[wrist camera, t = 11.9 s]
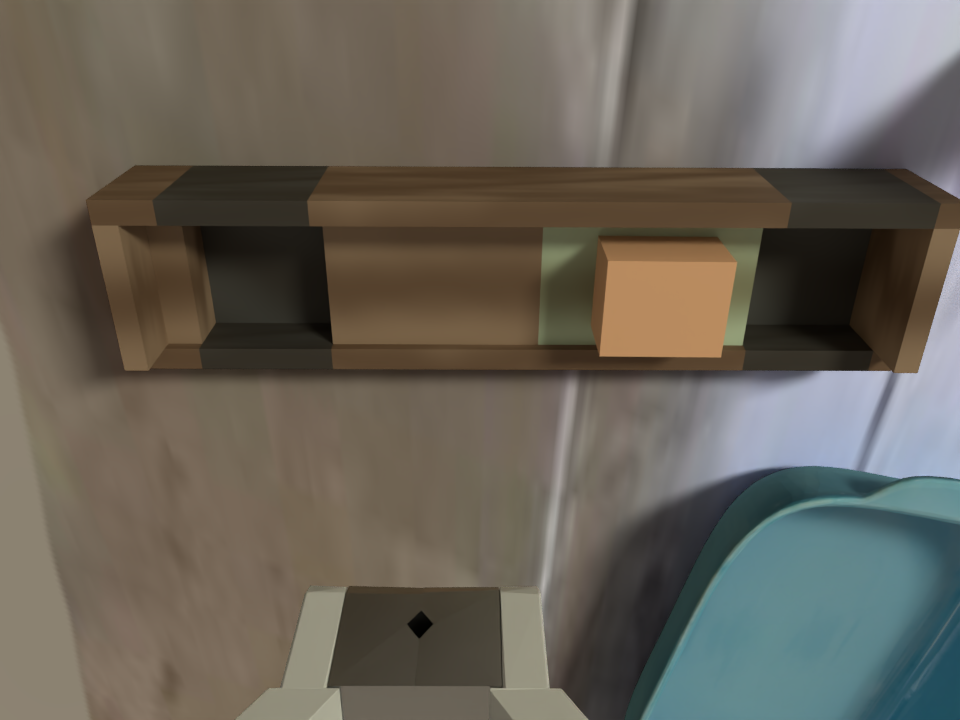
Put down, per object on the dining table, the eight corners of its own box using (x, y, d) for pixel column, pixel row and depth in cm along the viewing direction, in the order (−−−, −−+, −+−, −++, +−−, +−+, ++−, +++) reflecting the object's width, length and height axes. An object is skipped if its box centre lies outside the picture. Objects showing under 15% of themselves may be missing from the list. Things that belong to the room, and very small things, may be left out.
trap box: (134, 165, 42) (85, 199, 37) (906, 168, 42) (967, 203, 37) (168, 338, 47) (129, 390, 42) (862, 340, 47) (911, 393, 42)
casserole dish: (826, 806, 68) (861, 896, 62) (567, 769, 66) (577, 859, 59) (1070, 448, 51) (1153, 522, 45) (734, 380, 49) (772, 448, 42)
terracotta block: (598, 235, 41) (608, 261, 38) (717, 236, 41) (737, 262, 38) (590, 325, 43) (599, 356, 40) (703, 326, 43) (720, 357, 40)
